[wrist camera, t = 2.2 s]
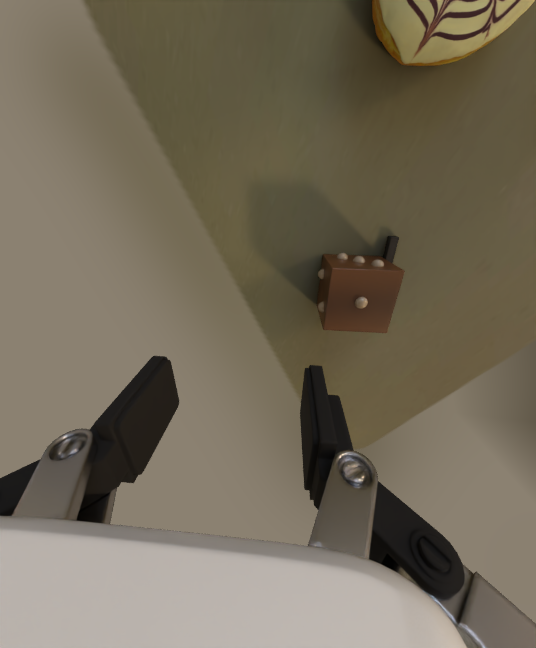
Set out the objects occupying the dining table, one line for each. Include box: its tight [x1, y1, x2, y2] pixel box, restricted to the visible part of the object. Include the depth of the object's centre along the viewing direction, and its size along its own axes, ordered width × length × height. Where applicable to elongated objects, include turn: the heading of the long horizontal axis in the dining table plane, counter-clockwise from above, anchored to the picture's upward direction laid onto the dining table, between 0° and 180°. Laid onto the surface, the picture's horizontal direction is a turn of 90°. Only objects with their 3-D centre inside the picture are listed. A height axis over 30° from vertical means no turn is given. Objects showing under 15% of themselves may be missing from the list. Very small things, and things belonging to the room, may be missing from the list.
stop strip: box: [383, 236, 399, 263], centre depth 26 cm, size 10×1×1 cm, turn 179°
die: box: [317, 253, 405, 333], centre depth 23 cm, size 6×6×6 cm
